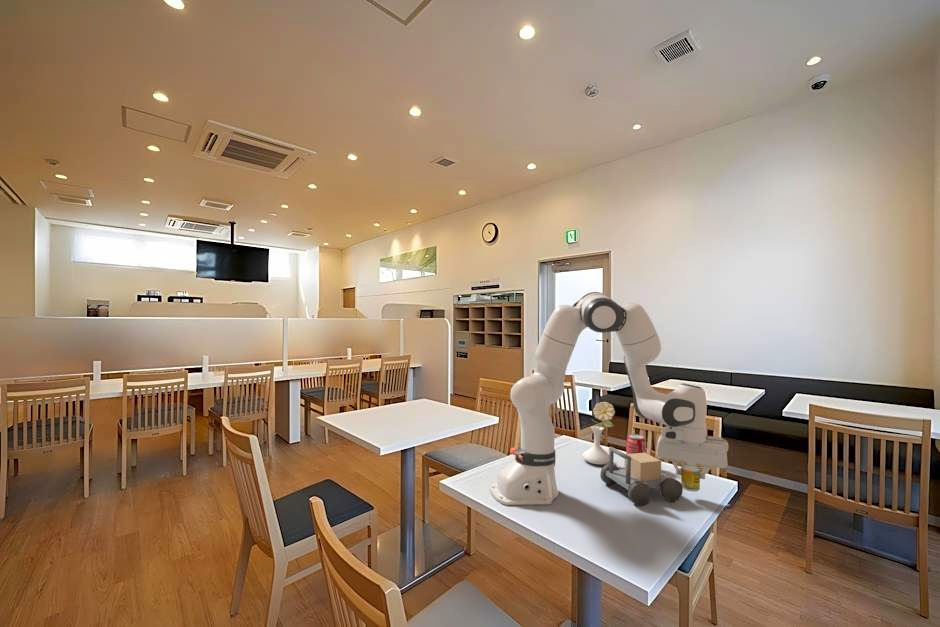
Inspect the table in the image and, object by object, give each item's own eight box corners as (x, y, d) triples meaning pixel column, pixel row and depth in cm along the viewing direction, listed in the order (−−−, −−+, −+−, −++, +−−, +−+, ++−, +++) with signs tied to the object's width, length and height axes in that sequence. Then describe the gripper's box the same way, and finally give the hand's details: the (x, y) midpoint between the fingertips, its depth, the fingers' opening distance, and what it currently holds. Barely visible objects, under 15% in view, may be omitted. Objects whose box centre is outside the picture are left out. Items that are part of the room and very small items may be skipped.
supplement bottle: (685, 483, 133) (685, 454, 133) (702, 489, 128) (702, 459, 128) (678, 487, 129) (678, 458, 129) (695, 493, 125) (695, 463, 125)
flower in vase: (576, 461, 161) (577, 399, 161) (591, 454, 168) (592, 396, 168) (606, 471, 151) (607, 405, 151) (620, 463, 159) (622, 401, 159)
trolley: (631, 507, 122) (632, 460, 122) (600, 484, 139) (600, 443, 139) (682, 500, 127) (683, 456, 127) (646, 479, 144) (646, 440, 144)
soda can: (641, 463, 159) (642, 434, 159) (648, 470, 152) (648, 439, 152) (623, 462, 160) (624, 433, 160) (629, 469, 153) (629, 438, 153)
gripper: (727, 435, 127) (726, 479, 127) (656, 427, 136) (656, 467, 136) (730, 441, 122) (729, 486, 121) (656, 431, 131) (656, 473, 130)
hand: (690, 476), depth 129 cm, fingers closed on supplement bottle, 5 cm apart
